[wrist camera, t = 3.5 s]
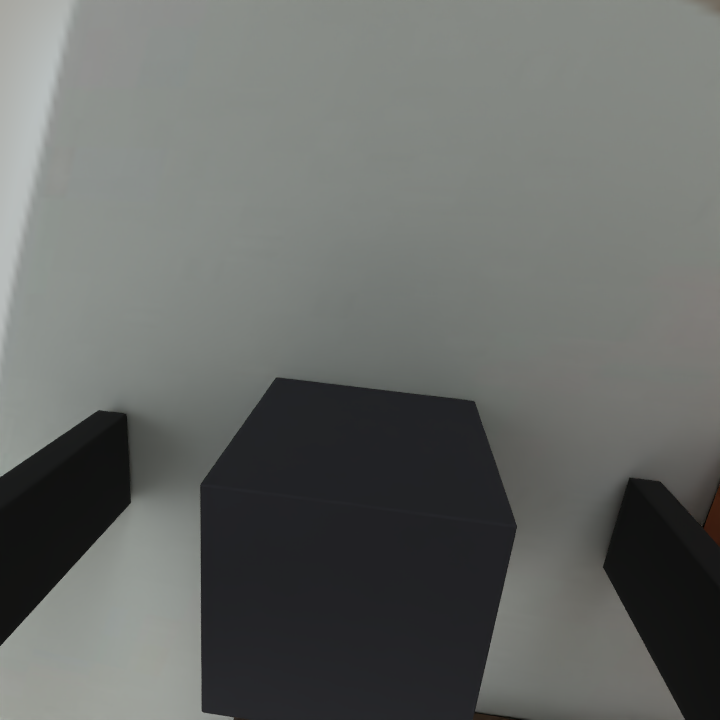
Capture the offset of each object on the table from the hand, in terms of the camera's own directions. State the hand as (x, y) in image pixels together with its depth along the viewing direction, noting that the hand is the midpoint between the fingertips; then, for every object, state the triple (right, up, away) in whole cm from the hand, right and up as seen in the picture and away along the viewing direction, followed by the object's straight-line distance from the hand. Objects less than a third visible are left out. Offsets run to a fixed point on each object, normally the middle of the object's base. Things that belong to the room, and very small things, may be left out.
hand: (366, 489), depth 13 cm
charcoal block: (0, 0, 0) cm, 0 cm away
